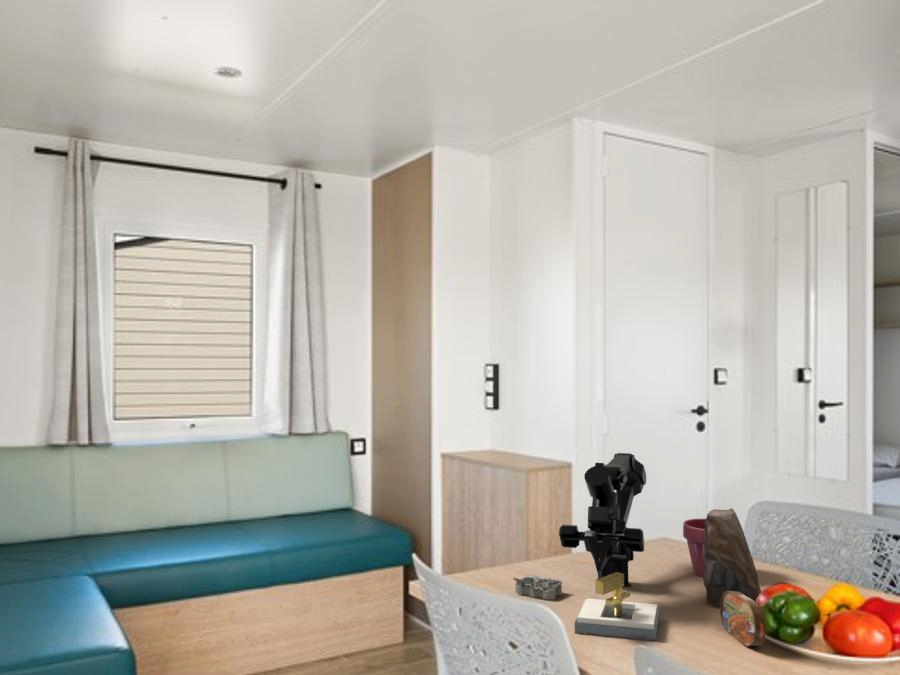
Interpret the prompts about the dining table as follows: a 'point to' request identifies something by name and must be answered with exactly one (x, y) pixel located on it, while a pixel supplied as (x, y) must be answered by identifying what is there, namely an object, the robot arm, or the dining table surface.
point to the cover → (594, 612)
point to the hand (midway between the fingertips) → (598, 571)
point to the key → (613, 584)
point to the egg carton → (538, 587)
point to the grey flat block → (619, 627)
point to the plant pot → (696, 543)
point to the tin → (743, 618)
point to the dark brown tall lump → (727, 558)
